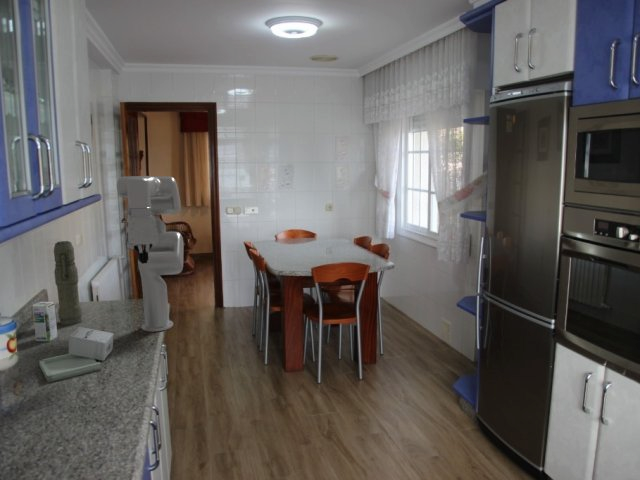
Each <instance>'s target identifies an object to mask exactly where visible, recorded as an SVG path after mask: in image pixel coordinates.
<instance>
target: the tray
mask: <svg viewBox="0 0 640 480" xmlns="http://www.w3.org/2000/svg"><path fill="white" fill-rule="evenodd" d="M38 364H39V368H40V370H41V372H42V374H43V376H44V377H45V379H46V381H47V383H49V384H50V383H53V382H58V381H60V380H65V379H69V378H72V377H76V376H77V377H78V376H81V375H85V374H89V373H93V372H96V371H101V370H102V364H101V362H100V361H99V362H97V360H96V359H92V358H87V357H82V356H77V355H72V354H69V353H65V354H61V355H57V356H53V357H47V358H42V359H39V360H38Z"/></svg>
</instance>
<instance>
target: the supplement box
mask: <svg viewBox="0 0 640 480" xmlns="http://www.w3.org/2000/svg"><path fill="white" fill-rule="evenodd" d="M113 345H114V333H113V332H108V331H102V330H97V329H92V328H88V327H84V326H78V327H77V328H76V329H75V330H74V331H73V332H72V333H71V334H70V335H69V338H68V354H72V355H77V356H82V357H87V358H92V359H95V360H96V361H97V360H98V361H105V359H106V358H107V357H108V356H109V355H110V354H111V353H112V351H113Z"/></svg>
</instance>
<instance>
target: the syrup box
mask: <svg viewBox="0 0 640 480" xmlns="http://www.w3.org/2000/svg"><path fill="white" fill-rule="evenodd" d="M55 307H56V306H55V301H39V302H36V303H34V304H33V305H32V315H33V321H34V322H33V323H34V332H35V333H34V334H35V342H51V341H53V340H54V339H56V338H57V337H58V327H57V326H58V325H57V317H56V310H55V309H56V308H55Z"/></svg>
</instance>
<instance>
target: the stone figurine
mask: <svg viewBox="0 0 640 480" xmlns="http://www.w3.org/2000/svg"><path fill="white" fill-rule="evenodd" d="M53 247H54V248H53V255H54V256H53V257H54V262H55V264H54V273H53V274H54V281H55V282H54V283H55V285H56V289H57V297H58V298H57V299H58V312H57V313H58V319H59V324H60V325H61V326H65V325H66V326H74V325H77V324H81V323H82V322H83V319H82V316H83V314H82V307H81V305H80V296H79V286H78V283H79V275H78V274H79V273H78V268H77V266H76V262H75V259H76V258H75V250H74V246H73V244H72V242H71V241H69V240H64V241H57V242H55V244H54V246H53ZM81 321H82V322H81Z"/></svg>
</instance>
